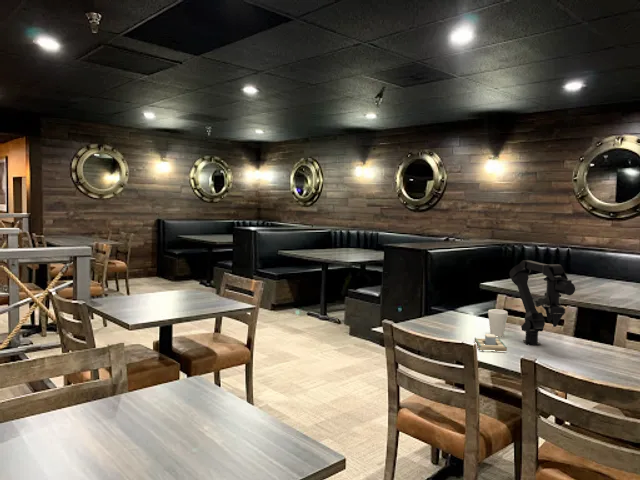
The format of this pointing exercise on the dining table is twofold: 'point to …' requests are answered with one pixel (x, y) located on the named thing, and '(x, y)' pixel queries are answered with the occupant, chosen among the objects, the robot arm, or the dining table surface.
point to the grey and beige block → (490, 339)
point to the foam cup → (497, 321)
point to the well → (497, 347)
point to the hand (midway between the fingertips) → (551, 324)
